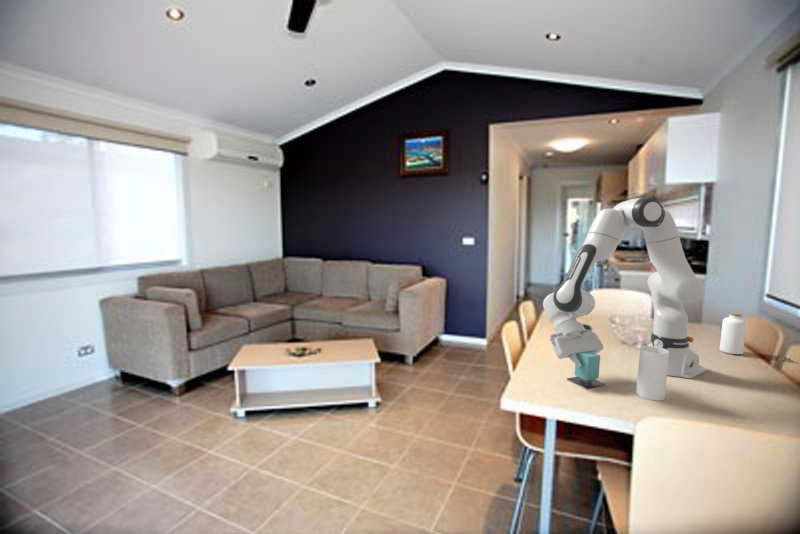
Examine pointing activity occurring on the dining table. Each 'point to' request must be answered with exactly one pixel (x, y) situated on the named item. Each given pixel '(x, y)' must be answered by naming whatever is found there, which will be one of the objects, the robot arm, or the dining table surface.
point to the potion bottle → (733, 334)
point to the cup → (652, 372)
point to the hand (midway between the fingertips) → (588, 365)
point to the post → (586, 382)
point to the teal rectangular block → (588, 366)
